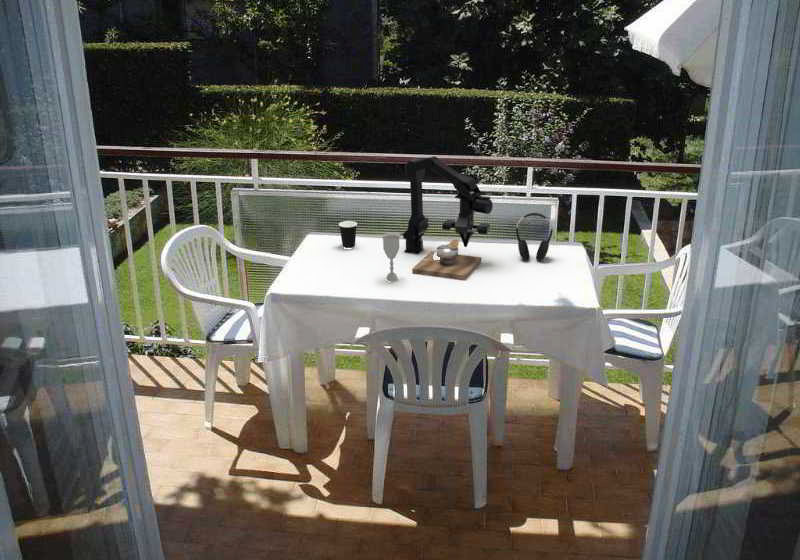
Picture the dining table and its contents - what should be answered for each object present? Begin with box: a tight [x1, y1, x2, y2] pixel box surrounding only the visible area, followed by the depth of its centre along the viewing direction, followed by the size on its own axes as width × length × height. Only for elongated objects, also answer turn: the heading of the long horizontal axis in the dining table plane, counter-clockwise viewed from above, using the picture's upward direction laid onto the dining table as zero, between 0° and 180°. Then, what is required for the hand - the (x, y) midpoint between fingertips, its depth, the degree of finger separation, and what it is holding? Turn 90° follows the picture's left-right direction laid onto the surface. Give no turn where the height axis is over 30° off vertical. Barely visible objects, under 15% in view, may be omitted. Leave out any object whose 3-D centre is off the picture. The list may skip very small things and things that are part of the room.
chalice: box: [381, 232, 401, 282], centre depth 297 cm, size 7×7×18 cm
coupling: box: [436, 238, 460, 259], centre depth 313 cm, size 15×8×3 cm, turn 158°
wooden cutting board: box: [411, 250, 483, 281], centre depth 311 cm, size 22×22×5 cm
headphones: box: [515, 212, 554, 261], centre depth 316 cm, size 9×15×20 cm, turn 80°
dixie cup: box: [338, 220, 358, 248], centre depth 334 cm, size 8×8×11 cm
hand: (465, 246), depth 315 cm, fingers closed
